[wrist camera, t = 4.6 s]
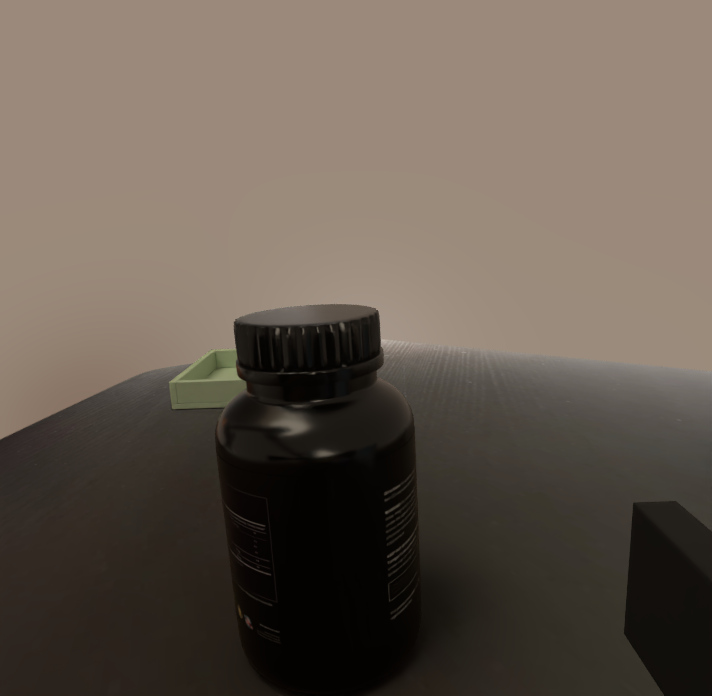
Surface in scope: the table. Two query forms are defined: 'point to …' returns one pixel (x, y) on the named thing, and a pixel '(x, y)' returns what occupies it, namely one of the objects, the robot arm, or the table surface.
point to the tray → (207, 382)
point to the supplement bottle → (320, 500)
